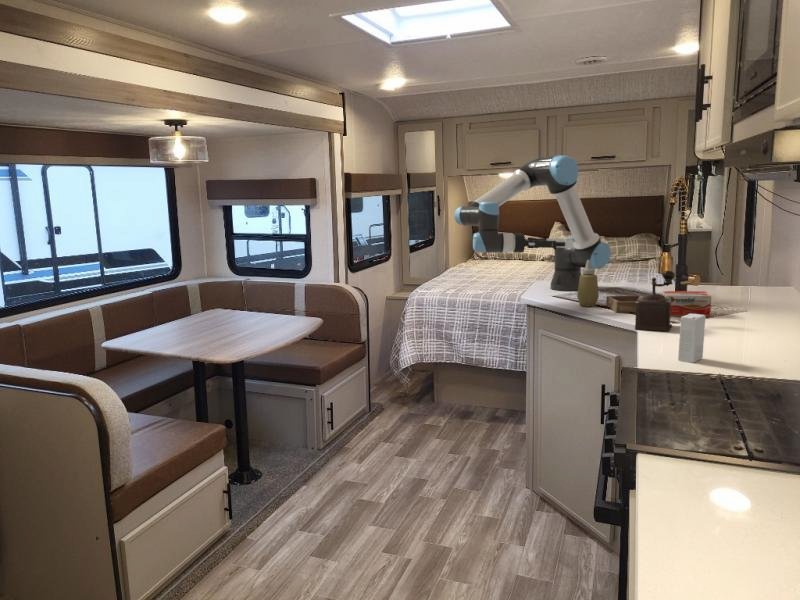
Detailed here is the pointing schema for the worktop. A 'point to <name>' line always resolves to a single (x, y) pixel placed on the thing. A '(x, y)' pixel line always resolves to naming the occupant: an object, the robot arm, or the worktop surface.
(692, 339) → the skincare box
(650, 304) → the manual coffee grinder
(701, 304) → the medicine box
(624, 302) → the walnut well
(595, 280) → the squeeze bottle
